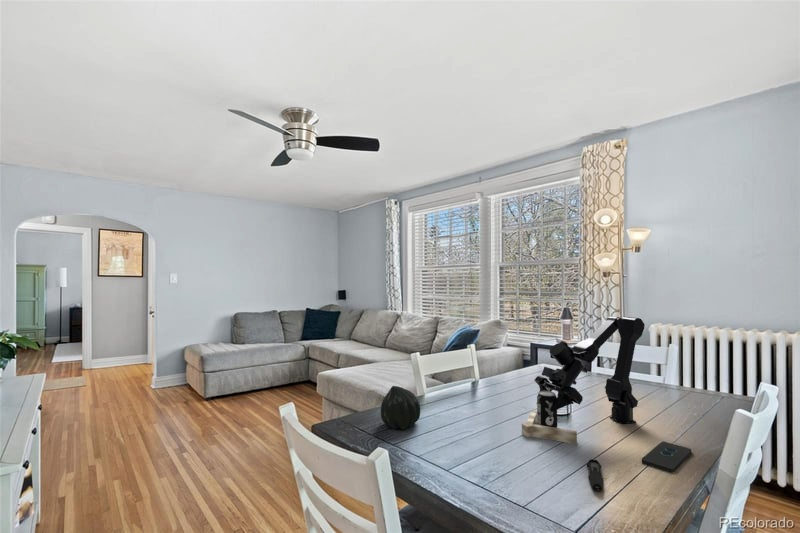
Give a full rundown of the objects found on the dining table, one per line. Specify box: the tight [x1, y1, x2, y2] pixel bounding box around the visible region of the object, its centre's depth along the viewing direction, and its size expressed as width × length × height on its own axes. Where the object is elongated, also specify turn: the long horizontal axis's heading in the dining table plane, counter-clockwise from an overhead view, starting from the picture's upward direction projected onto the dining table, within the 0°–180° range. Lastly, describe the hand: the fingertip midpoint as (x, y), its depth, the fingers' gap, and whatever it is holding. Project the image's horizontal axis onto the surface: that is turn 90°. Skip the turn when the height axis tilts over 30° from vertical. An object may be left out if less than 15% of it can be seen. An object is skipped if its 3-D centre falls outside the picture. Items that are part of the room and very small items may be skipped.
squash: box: [380, 385, 421, 430], centre depth 144 cm, size 14×15×15 cm
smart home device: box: [641, 440, 692, 474], centre depth 118 cm, size 8×2×20 cm
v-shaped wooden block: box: [521, 410, 578, 445], centre depth 137 cm, size 13×23×4 cm, turn 19°
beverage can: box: [536, 390, 558, 428], centre depth 138 cm, size 7×7×12 cm
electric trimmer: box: [586, 458, 604, 492], centre depth 105 cm, size 4×16×3 cm, turn 156°
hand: (543, 408), depth 137 cm, fingers closed on beverage can, 6 cm apart
